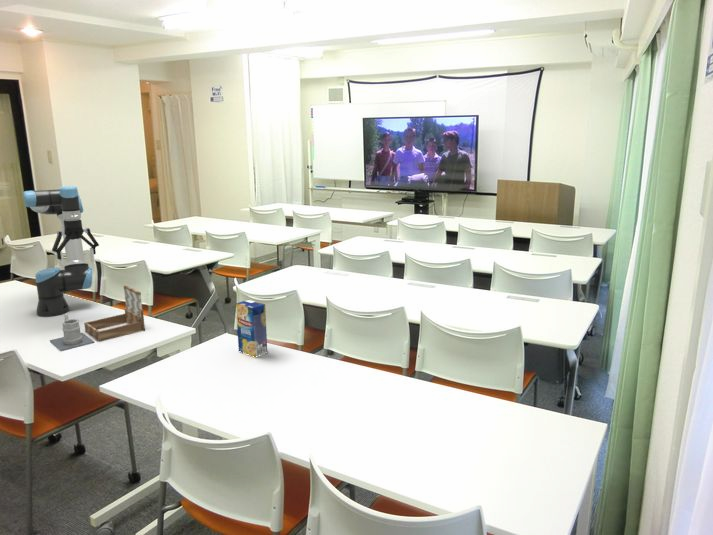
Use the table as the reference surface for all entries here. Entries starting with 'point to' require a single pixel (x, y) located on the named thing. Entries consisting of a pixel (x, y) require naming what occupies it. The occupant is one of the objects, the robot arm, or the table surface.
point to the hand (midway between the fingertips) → (78, 263)
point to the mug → (71, 331)
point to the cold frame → (120, 319)
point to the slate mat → (62, 346)
